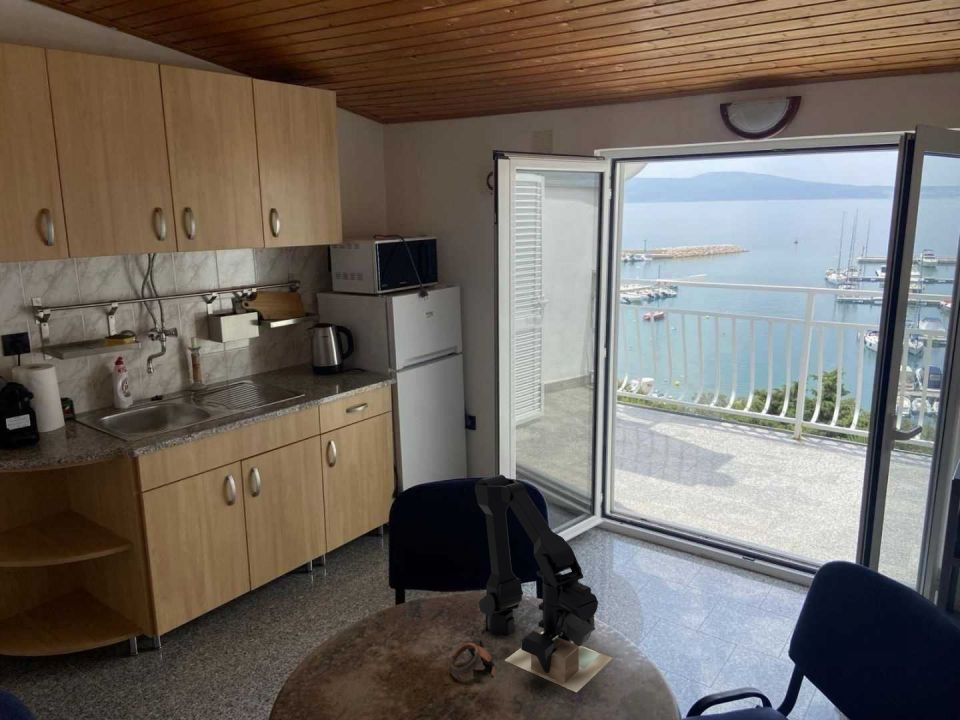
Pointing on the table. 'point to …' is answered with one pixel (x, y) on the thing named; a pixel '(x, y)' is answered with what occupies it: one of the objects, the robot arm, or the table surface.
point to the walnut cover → (560, 661)
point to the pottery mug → (478, 656)
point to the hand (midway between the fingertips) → (554, 665)
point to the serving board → (588, 668)
